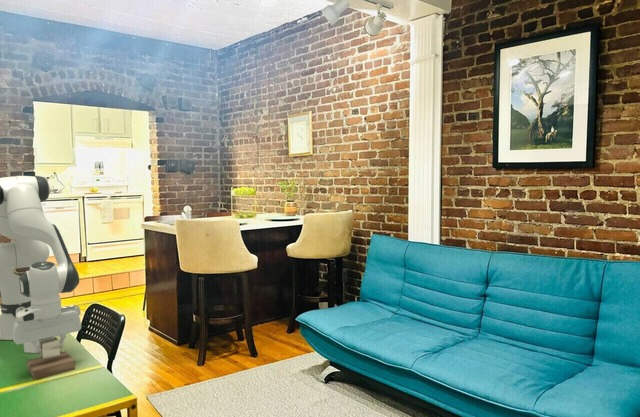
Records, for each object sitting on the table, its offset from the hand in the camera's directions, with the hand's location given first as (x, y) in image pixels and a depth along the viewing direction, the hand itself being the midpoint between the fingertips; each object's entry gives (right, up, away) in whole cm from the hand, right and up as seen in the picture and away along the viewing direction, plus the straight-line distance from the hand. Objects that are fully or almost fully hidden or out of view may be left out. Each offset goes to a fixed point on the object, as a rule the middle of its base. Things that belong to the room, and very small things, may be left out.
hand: (49, 349), depth 163 cm
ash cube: (0, -2, 0) cm, 2 cm away
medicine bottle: (-15, -6, +19) cm, 25 cm away
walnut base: (0, -7, +1) cm, 7 cm away
